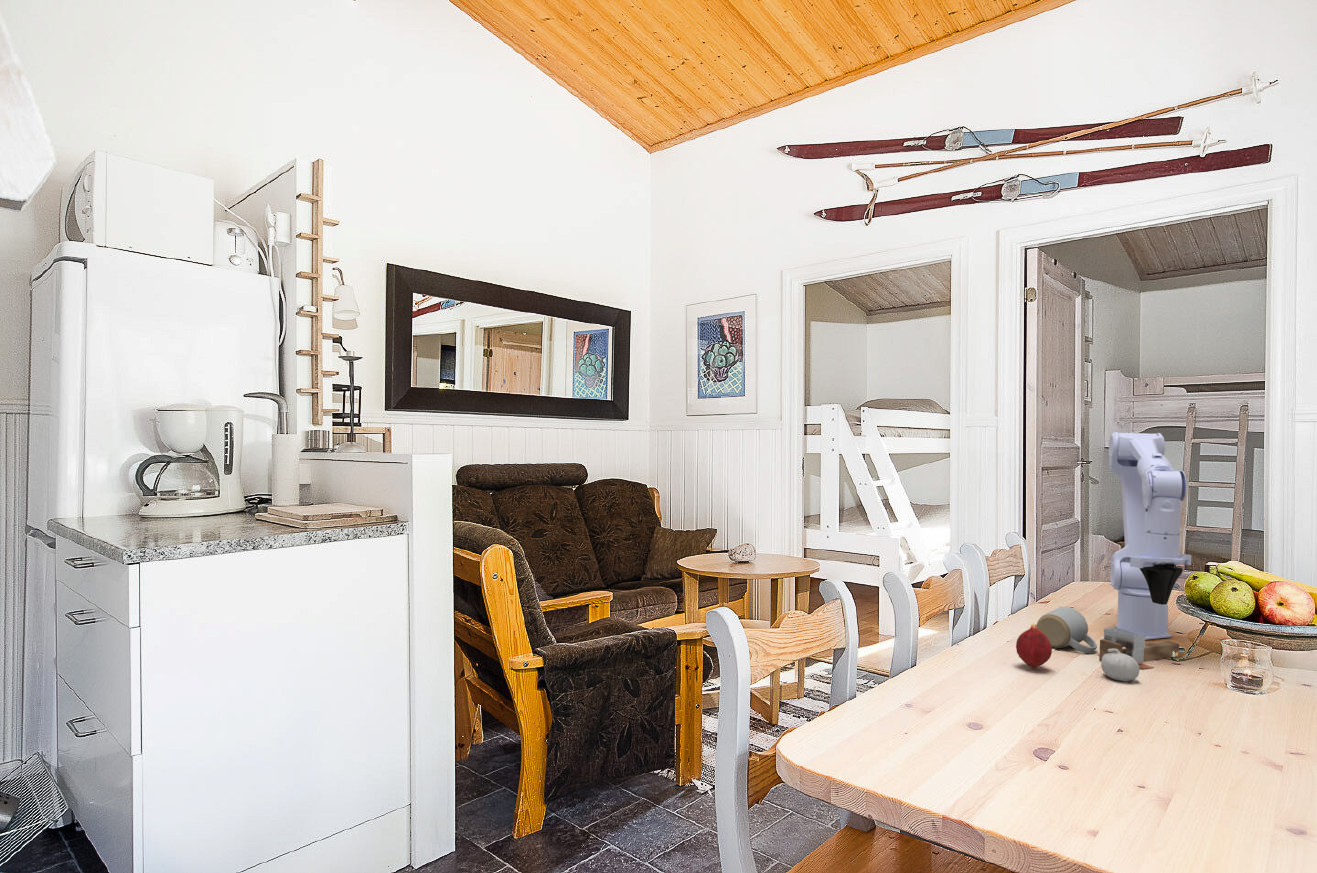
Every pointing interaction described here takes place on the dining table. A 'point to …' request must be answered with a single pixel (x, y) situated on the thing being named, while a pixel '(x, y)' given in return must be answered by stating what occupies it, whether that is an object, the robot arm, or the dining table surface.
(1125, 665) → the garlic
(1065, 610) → the ceramic mug
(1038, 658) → the onion
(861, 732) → the dining table surface
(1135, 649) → the gray arch block
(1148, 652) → the rail
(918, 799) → the dining table surface
